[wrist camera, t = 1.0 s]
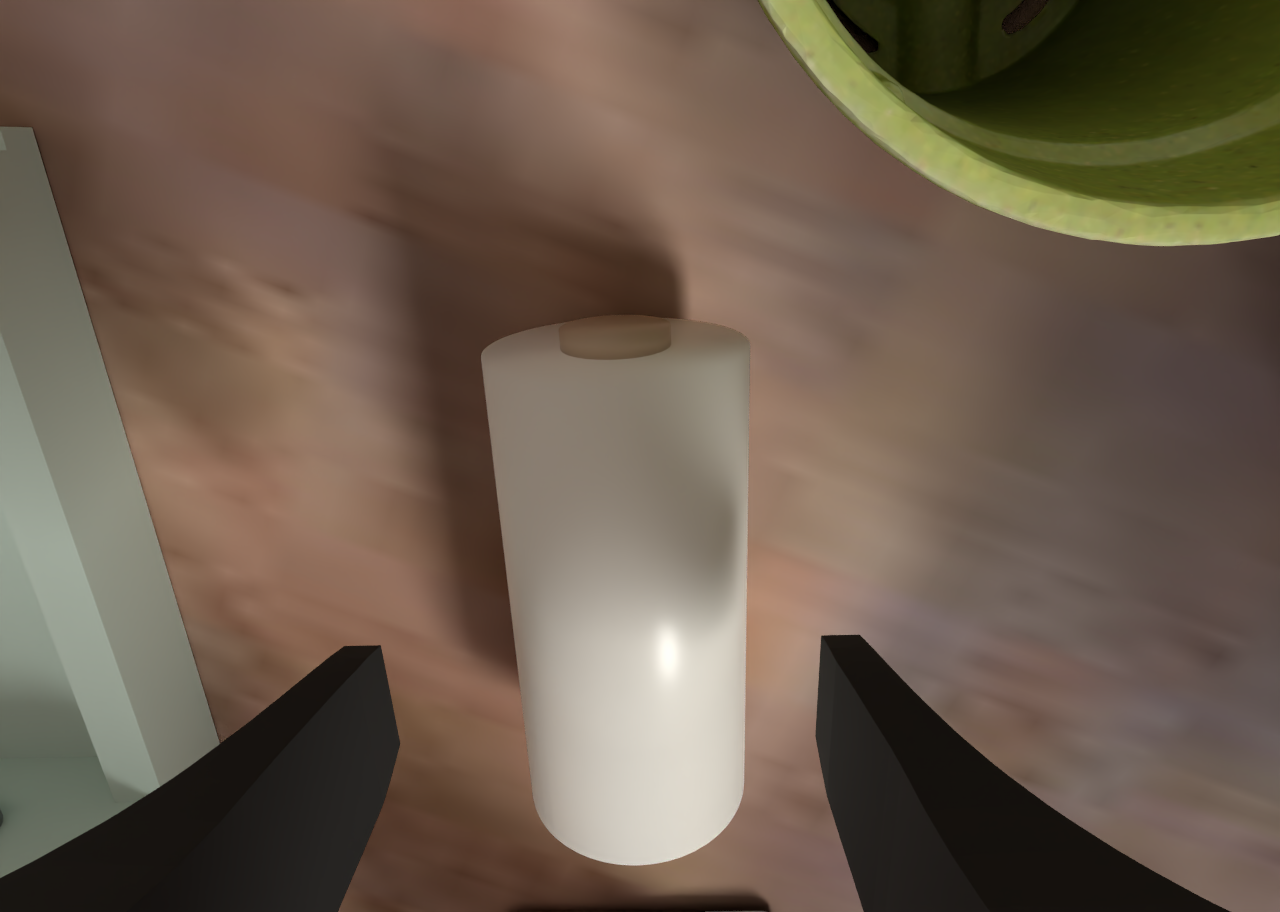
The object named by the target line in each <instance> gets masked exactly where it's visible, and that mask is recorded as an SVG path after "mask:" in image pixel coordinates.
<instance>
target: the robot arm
mask: <svg viewBox="0 0 1280 912" xmlns="http://www.w3.org/2000/svg"><path fill="white" fill-rule="evenodd" d="M816 741H817V747H818V752H819V758H820V763H821V768H822V773H823V778H824V783H825V788H826V793H827V797H828V800H829V804H830V807H831V810H832V813H833V817H834V820H835V823H836V826H837V829H838V832H839V836H840V839H841V842H842V845H843V848H844V851H845V854H846V858H847V861H848V864H849V867H850V870H851V873H852V876H853V879H854V882H855V885H856V889H857V892H858V895H859V898H860V901H861V904H862V907H863V910H864V912H1230V911H1228V910H1226V909H1224V908H1222V907H1220V906H1218V905H1215V904H1213V903H1211V902H1209V901H1208V900H1206V899H1204V898H1202V897H1200V896H1198V895H1196V894H1194V893H1192V892H1191V891H1189V890H1187V889H1185V888H1183V887H1181V886H1180V885H1178V884H1176V883H1174V882H1172V881H1170V880H1169V879H1167V878H1165V877H1163V876H1161V875H1159V874H1158V873H1156V872H1154V871H1152V870H1150V869H1149V868H1147V867H1145V866H1143V865H1142V864H1140V863H1138V862H1137V861H1135V860H1133V859H1131V858H1130V857H1128V856H1126V855H1125V854H1123V853H1121V852H1119V851H1118V850H1116V849H1114V848H1113V847H1111V846H1110V845H1108V844H1107V843H1105V842H1103V841H1102V840H1100V839H1099V838H1097V837H1096V836H1094V835H1092V834H1091V833H1089V832H1088V831H1086V830H1085V829H1083V828H1081V827H1080V826H1078V825H1077V824H1075V823H1074V822H1072V821H1071V820H1069V819H1068V818H1066V817H1065V816H1063V815H1062V814H1060V813H1059V812H1057V811H1056V810H1054V809H1053V808H1051V807H1050V806H1049V805H1047V804H1046V803H1044V802H1043V801H1042V800H1040V799H1039V798H1038V797H1036V796H1035V795H1034V794H1032V793H1031V792H1029V791H1028V790H1027V789H1025V788H1024V787H1023V786H1021V785H1020V784H1019V783H1017V782H1016V781H1015V780H1013V779H1012V778H1011V777H1009V776H1008V775H1007V774H1005V773H1004V772H1003V771H1002V770H1000V769H999V768H998V767H997V766H995V765H994V764H993V763H992V762H990V761H989V760H988V759H987V758H986V757H984V756H983V755H982V754H981V753H980V752H979V751H977V750H976V749H975V748H974V747H973V746H972V745H970V744H969V743H968V742H967V741H966V740H965V739H963V738H962V737H961V736H960V735H959V734H958V733H957V732H956V731H954V730H953V729H952V728H951V727H950V726H949V725H948V724H947V723H946V722H945V721H944V720H943V719H942V718H941V717H940V716H939V715H938V714H937V713H935V712H934V711H933V710H932V709H931V708H930V707H929V706H928V705H927V704H926V703H925V702H924V701H923V700H922V699H921V698H920V697H919V696H918V695H917V694H916V693H915V692H914V691H913V690H912V689H911V688H910V687H909V686H908V685H907V684H906V683H905V682H904V681H903V680H902V679H901V678H900V677H899V676H898V674H897V673H896V672H895V671H894V670H893V669H892V668H891V667H890V666H889V665H888V664H887V663H886V662H885V661H884V660H883V659H882V658H881V657H880V655H879V654H878V653H877V652H876V651H875V650H874V649H873V648H872V647H871V646H870V645H869V644H868V643H867V642H866V641H865V640H864V639H863V638H862V637H861V636H860V635H828V636H821V651H820V668H819V685H818V702H817V719H816ZM399 746H400V740H399V735H398V730H397V725H396V720H395V715H394V710H393V705H392V700H391V695H390V690H389V685H388V680H387V675H386V670H385V665H384V660H383V654H382V649H381V645H378V646H344V647H343V648H341V649H340V650H339V651H337V652H336V653H334V654H333V655H332V656H330V657H329V658H328V659H327V660H325V661H324V662H323V663H322V664H320V665H319V666H318V667H317V668H315V669H314V670H313V671H312V672H310V673H309V674H308V675H307V676H306V677H304V678H303V679H302V680H301V681H299V682H298V683H297V684H296V685H295V686H293V687H292V688H291V689H290V690H288V691H287V692H286V693H285V694H284V695H282V696H281V697H280V698H279V699H277V700H276V701H275V702H274V703H272V704H271V705H270V706H269V707H267V708H266V709H265V710H264V711H262V712H261V713H260V714H259V715H257V716H256V717H255V718H254V719H252V720H251V721H250V722H249V723H247V724H246V725H245V726H243V727H242V728H241V729H239V730H238V731H237V732H235V733H234V734H233V735H231V736H230V737H229V738H227V739H226V740H225V741H223V742H222V743H221V744H219V745H218V746H216V747H215V748H214V749H212V750H211V751H210V752H208V753H207V754H206V755H204V756H203V757H202V758H200V759H199V760H198V761H196V762H195V763H194V764H192V765H191V766H189V767H188V768H187V769H185V770H184V771H182V772H181V773H179V774H178V775H177V776H175V777H174V778H172V779H171V780H169V781H168V782H166V783H165V784H163V785H162V786H160V787H159V788H157V789H156V790H154V791H153V792H151V793H149V794H148V795H146V796H145V797H143V798H142V799H140V800H138V801H137V802H135V803H134V804H132V805H130V806H129V807H127V808H126V809H124V810H123V811H121V812H119V813H118V814H116V815H114V816H113V817H111V818H109V819H108V820H106V821H104V822H103V823H101V824H99V825H97V826H95V827H94V828H92V829H90V830H88V831H86V832H85V833H83V834H81V835H79V836H78V837H76V838H74V839H72V840H70V841H69V842H67V843H65V844H63V845H61V846H60V847H58V848H56V849H54V850H52V851H51V852H49V853H47V854H45V855H44V856H42V857H40V858H38V859H36V860H34V861H33V862H31V863H29V864H27V865H25V866H23V867H21V868H19V869H17V870H15V871H13V872H11V873H9V874H7V875H5V876H3V877H1V878H0V912H338V910H339V907H340V905H341V903H342V900H343V898H344V896H345V893H346V891H347V889H348V886H349V884H350V882H351V879H352V877H353V875H354V872H355V870H356V868H357V865H358V863H359V861H360V858H361V856H362V854H363V851H364V849H365V847H366V844H367V842H368V840H369V837H370V835H371V832H372V830H373V828H374V825H375V823H376V820H377V818H378V816H379V813H380V811H381V808H382V806H383V803H384V800H385V797H386V793H387V790H388V787H389V783H390V780H391V776H392V773H393V769H394V765H395V761H396V758H397V754H398V750H399ZM707 912H766V911H707Z"/></svg>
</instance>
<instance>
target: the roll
mask: <svg viewBox="0 0 1280 912" xmlns="http://www.w3.org/2000/svg"><path fill="white" fill-rule="evenodd" d="M481 363H482V371H483V380H484V388H485V397H486V405H487V413H488V422H489V430H490V439H491V447H492V456H493V464H494V473H495V481H496V490H497V498H498V506H499V515H500V523H501V532H502V540H503V549H504V557H505V566H506V574H507V582H508V591H509V599H510V608H511V616H512V625H513V633H514V642H515V650H516V658H517V667H518V675H519V684H520V692H521V701H522V709H523V718H524V726H525V735H526V743H527V751H528V760H529V768H530V777H531V785H532V794H533V800H534V804H535V808H536V810H537V813H538V815H539V817H540V819H541V821H542V822H543V824H544V825H545V827H546V828H547V829H548V830H549V831H550V833H551V834H552V835H553V836H554V837H555V838H556V839H558V840H559V841H560V842H561V843H563V844H564V845H565V846H567V847H568V848H570V849H572V850H573V851H575V852H577V853H579V854H581V855H584V856H586V857H589V858H591V859H595V860H598V861H602V862H606V863H612V864H618V865H649V864H656V863H661V862H667V861H670V860H673V859H677V858H680V857H683V856H685V855H687V854H689V853H692V852H694V851H696V850H698V849H699V848H701V847H703V846H704V845H706V844H708V843H709V842H710V841H711V840H713V839H714V838H715V837H716V836H718V835H719V834H720V833H721V832H722V831H723V830H724V829H725V827H726V826H727V825H728V824H729V822H730V821H731V820H732V818H733V817H734V815H735V813H736V811H737V809H738V807H739V805H740V802H741V799H742V795H743V788H744V752H745V680H746V608H747V536H748V464H749V392H750V342H749V340H748V338H747V337H746V336H744V335H743V334H742V333H740V332H738V331H736V330H734V329H731V328H728V327H725V326H721V325H717V324H712V323H707V322H701V321H695V320H686V319H674V318H659V317H654V316H646V315H604V316H595V317H588V318H582V319H578V320H574V321H571V322H565V323H559V324H553V325H547V326H542V327H537V328H533V329H529V330H525V331H521V332H518V333H515V334H512V335H509V336H506V337H503V338H501V339H499V340H497V341H495V342H493V343H492V344H490V345H488V346H487V347H486V348H485V349H484V350H483V352H482V354H481Z"/></svg>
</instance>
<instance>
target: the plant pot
mask: <svg viewBox="0 0 1280 912" xmlns="http://www.w3.org/2000/svg"><path fill="white" fill-rule="evenodd" d="M1022 1H1023V0H833V2H834V3H835V4H836V5H837V6H838V8H839V9H840V10H841V11H842V12H843V13H844V14H845V15H846V16H847V17H848V18H849V19H850V20H851V21H853V22H854V23H855V24H856V25H857V26H858V27H859V28H861V29H862V30H863V32H865V33H866V34H868V35H869V36H871V37H872V38H874V39H875V40H876V41H877V42H878V44H879V47H878V50H877V51H875V52H870V53H868V54H866V53H865V51H864V50H863V49H862V48H861V47H860V46H859V44H858V43H857V42H856V41H855V40H854V38H853V37H852V36H851V35H850V34H849V32H848V31H847V30H846V29H845V27H844V26H843V25H842V24H841V22H840V21H839V19H838V18H837V16H836V15H835V13H834V12H833V10H832V9H831V7H830V6H829V4H828V2H827V1H826V0H758V2H759V4H760V5H761V7H762V9H763V11H764V13H765V14H766V16H767V18H768V19H769V21H770V22H771V24H772V25H773V27H774V28H775V30H776V31H777V33H778V34H779V36H780V37H781V39H782V40H783V42H784V43H785V45H786V46H787V48H788V49H789V51H790V52H791V54H792V55H793V57H794V58H795V59H796V61H797V62H798V63H799V64H800V66H801V67H802V68H803V69H804V71H805V72H806V73H807V74H808V76H809V77H810V78H811V79H812V81H813V82H814V83H815V85H816V86H817V87H818V88H819V89H820V90H821V91H822V92H823V93H824V95H825V96H826V97H827V98H828V99H829V100H830V101H831V102H832V103H833V104H834V105H835V106H836V107H837V109H838V110H839V111H840V112H841V113H842V114H843V115H844V116H845V117H846V118H847V119H848V120H850V121H851V122H852V123H853V124H854V125H855V126H856V127H857V128H858V129H860V130H861V131H862V132H863V133H864V134H865V135H866V136H867V137H869V138H870V139H871V140H872V141H873V142H874V143H875V144H876V145H878V146H879V147H880V148H882V149H883V150H885V151H886V152H887V153H889V154H890V155H892V156H893V157H894V158H896V159H897V160H899V161H900V162H901V163H903V164H904V165H906V166H907V167H908V168H910V169H911V170H913V171H914V172H916V173H918V174H919V175H921V176H922V177H924V178H926V179H927V180H929V181H931V182H932V183H934V184H935V185H937V186H939V187H941V188H943V189H945V190H947V191H949V192H951V193H953V194H955V195H957V196H959V197H961V198H962V199H964V200H966V201H968V202H970V203H972V204H974V205H977V206H979V207H982V208H985V209H987V210H990V211H993V212H995V213H998V214H1000V215H1003V216H1006V217H1009V218H1012V219H1014V220H1017V221H1020V222H1023V223H1026V224H1029V225H1031V226H1034V227H1038V228H1042V229H1046V230H1051V231H1055V232H1059V233H1063V234H1067V235H1072V236H1076V237H1081V238H1086V239H1090V240H1102V241H1109V242H1116V243H1123V244H1134V245H1148V246H1180V245H1208V244H1219V243H1229V242H1237V241H1244V240H1251V239H1258V238H1265V237H1271V236H1277V235H1280V0H1049V1H1048V2H1047V4H1046V5H1045V6H1044V8H1043V9H1042V11H1041V12H1040V13H1039V14H1038V15H1037V16H1036V17H1035V18H1034V19H1033V20H1032V21H1030V22H1029V23H1028V24H1027V25H1026V26H1025V27H1024V28H1023V29H1022V30H1019V31H1016V32H1014V33H1012V34H1007V33H1006V32H1005V31H1004V30H1003V29H1002V22H1003V19H1004V18H1005V17H1006V16H1007V15H1008V14H1010V13H1011V12H1012V11H1013V10H1014V9H1015V8H1016V7H1017V6H1018V5H1019V4H1020V3H1021V2H1022Z"/></svg>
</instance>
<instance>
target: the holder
mask: <svg viewBox="0 0 1280 912" xmlns="http://www.w3.org/2000/svg"><path fill="white" fill-rule="evenodd" d="M219 744H220V742H219V739H218V736H217V733H216V729H215V726H214V723H213V719H212V716H211V713H210V710H209V706H208V703H207V700H206V697H205V693H204V690H203V687H202V683H201V680H200V677H199V674H198V670H197V667H196V664H195V660H194V657H193V654H192V651H191V647H190V644H189V641H188V637H187V634H186V631H185V628H184V624H183V621H182V618H181V615H180V611H179V608H178V605H177V601H176V598H175V595H174V592H173V588H172V585H171V582H170V578H169V575H168V572H167V569H166V565H165V562H164V559H163V555H162V552H161V549H160V546H159V542H158V539H157V536H156V533H155V529H154V526H153V523H152V519H151V516H150V513H149V510H148V506H147V503H146V500H145V496H144V493H143V490H142V487H141V483H140V480H139V477H138V473H137V470H136V467H135V464H134V460H133V457H132V454H131V451H130V447H129V444H128V441H127V437H126V434H125V431H124V428H123V424H122V421H121V418H120V414H119V411H118V408H117V405H116V401H115V398H114V395H113V391H112V388H111V385H110V382H109V378H108V375H107V372H106V369H105V365H104V362H103V359H102V355H101V352H100V349H99V346H98V342H97V339H96V336H95V332H94V329H93V326H92V323H91V319H90V316H89V313H88V309H87V306H86V303H85V300H84V296H83V293H82V290H81V287H80V283H79V280H78V277H77V273H76V270H75V267H74V264H73V260H72V257H71V254H70V250H69V247H68V244H67V241H66V237H65V234H64V231H63V227H62V224H61V221H60V218H59V214H58V211H57V208H56V205H55V201H54V198H53V195H52V191H51V188H50V185H49V182H48V178H47V175H46V172H45V168H44V165H43V162H42V159H41V155H40V152H39V149H38V145H37V142H36V139H35V136H34V132H33V129H32V127H0V878H1V877H3V876H5V875H7V874H9V873H11V872H13V871H15V870H17V869H19V868H21V867H23V866H25V865H27V864H29V863H31V862H33V861H34V860H36V859H38V858H40V857H42V856H44V855H45V854H47V853H49V852H51V851H52V850H54V849H56V848H58V847H60V846H61V845H63V844H65V843H67V842H69V841H70V840H72V839H74V838H76V837H78V836H79V835H81V834H83V833H85V832H86V831H88V830H90V829H92V828H94V827H95V826H97V825H99V824H101V823H103V822H104V821H106V820H108V819H109V818H111V817H113V816H114V815H116V814H118V813H119V812H121V811H123V810H124V809H126V808H127V807H129V806H130V805H132V804H134V803H135V802H137V801H138V800H140V799H142V798H143V797H145V796H146V795H148V794H149V793H151V792H153V791H154V790H156V789H157V788H159V787H160V786H162V785H163V784H165V783H166V782H168V781H169V780H171V779H172V778H174V777H175V776H177V775H178V774H179V773H181V772H182V771H184V770H185V769H187V768H188V767H189V766H191V765H192V764H194V763H195V762H196V761H198V760H199V759H200V758H202V757H203V756H204V755H206V754H207V753H208V752H210V751H211V750H212V749H214V748H215V747H216V746H218V745H219Z"/></svg>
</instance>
